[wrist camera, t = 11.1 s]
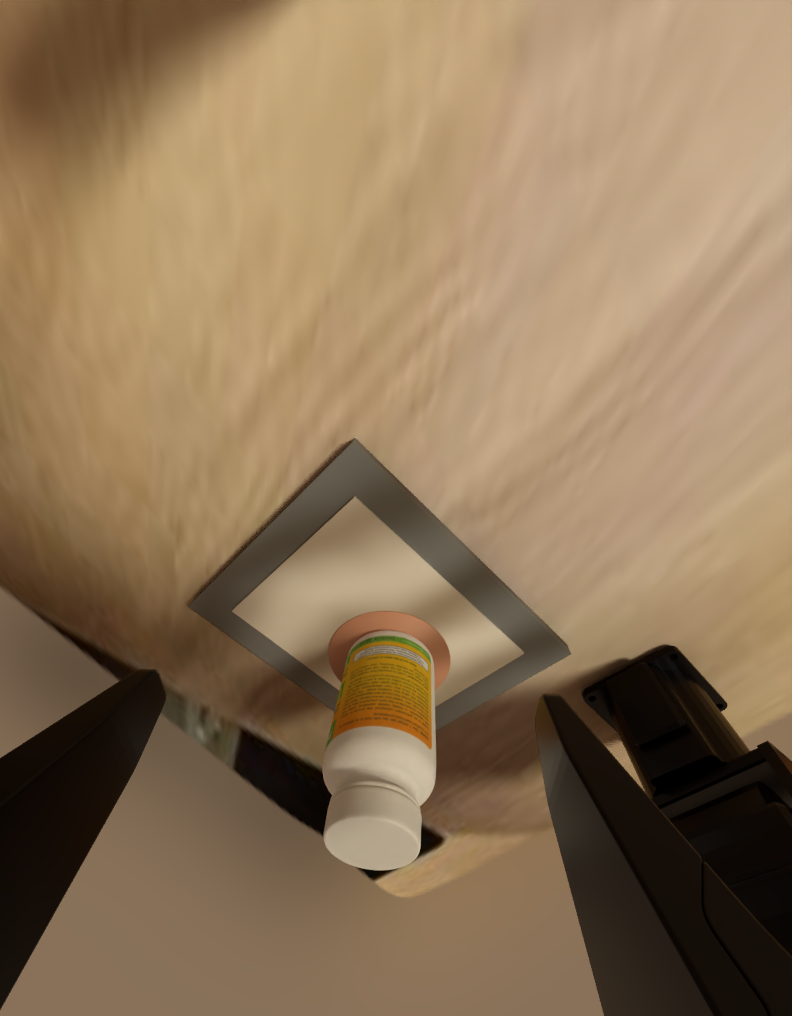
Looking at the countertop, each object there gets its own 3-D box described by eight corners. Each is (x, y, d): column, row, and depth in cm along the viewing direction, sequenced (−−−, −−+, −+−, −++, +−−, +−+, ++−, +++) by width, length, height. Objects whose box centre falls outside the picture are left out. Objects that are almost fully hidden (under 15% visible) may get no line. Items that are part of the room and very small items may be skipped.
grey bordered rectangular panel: (566, 644, 25) (572, 657, 24) (395, 744, 30) (394, 758, 29) (355, 437, 20) (351, 444, 19) (195, 598, 25) (185, 609, 24)
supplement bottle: (336, 633, 24) (285, 811, 16) (423, 621, 23) (422, 801, 15) (361, 695, 26) (328, 882, 18) (441, 686, 26) (449, 878, 17)
